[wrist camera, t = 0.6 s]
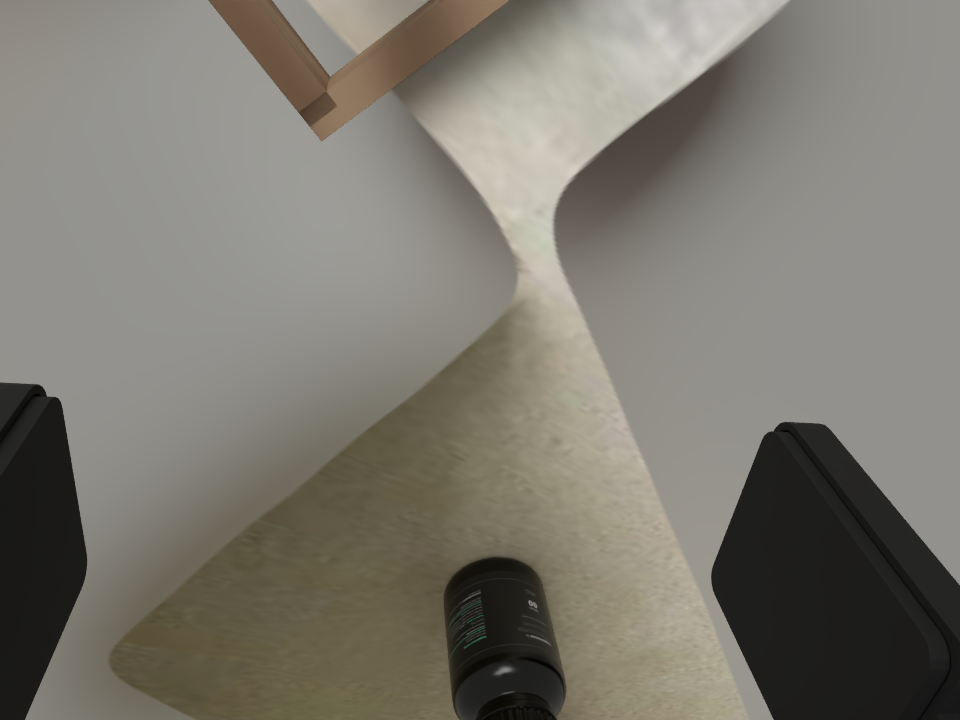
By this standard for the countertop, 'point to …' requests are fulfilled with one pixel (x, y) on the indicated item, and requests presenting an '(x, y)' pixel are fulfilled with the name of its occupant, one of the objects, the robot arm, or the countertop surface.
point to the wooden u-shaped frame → (366, 77)
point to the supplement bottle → (502, 644)
